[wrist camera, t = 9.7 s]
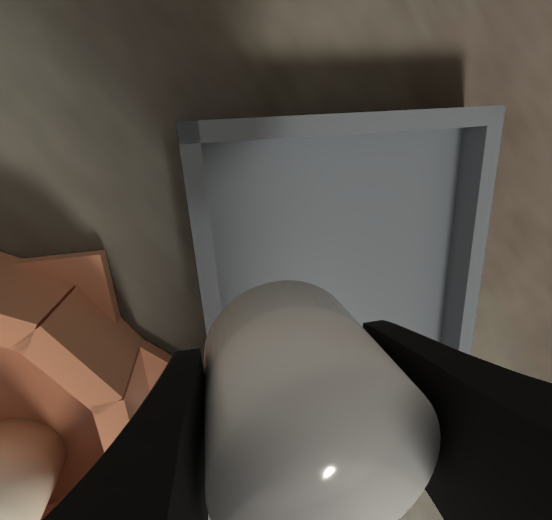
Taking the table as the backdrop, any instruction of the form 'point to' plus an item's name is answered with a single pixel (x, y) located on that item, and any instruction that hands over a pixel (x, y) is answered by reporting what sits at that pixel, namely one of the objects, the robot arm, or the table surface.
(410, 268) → the parts tray
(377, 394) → the white rounded capsule
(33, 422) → the beige rounded capsule
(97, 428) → the terracotta bowl
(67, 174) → the table surface
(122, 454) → the robot arm
